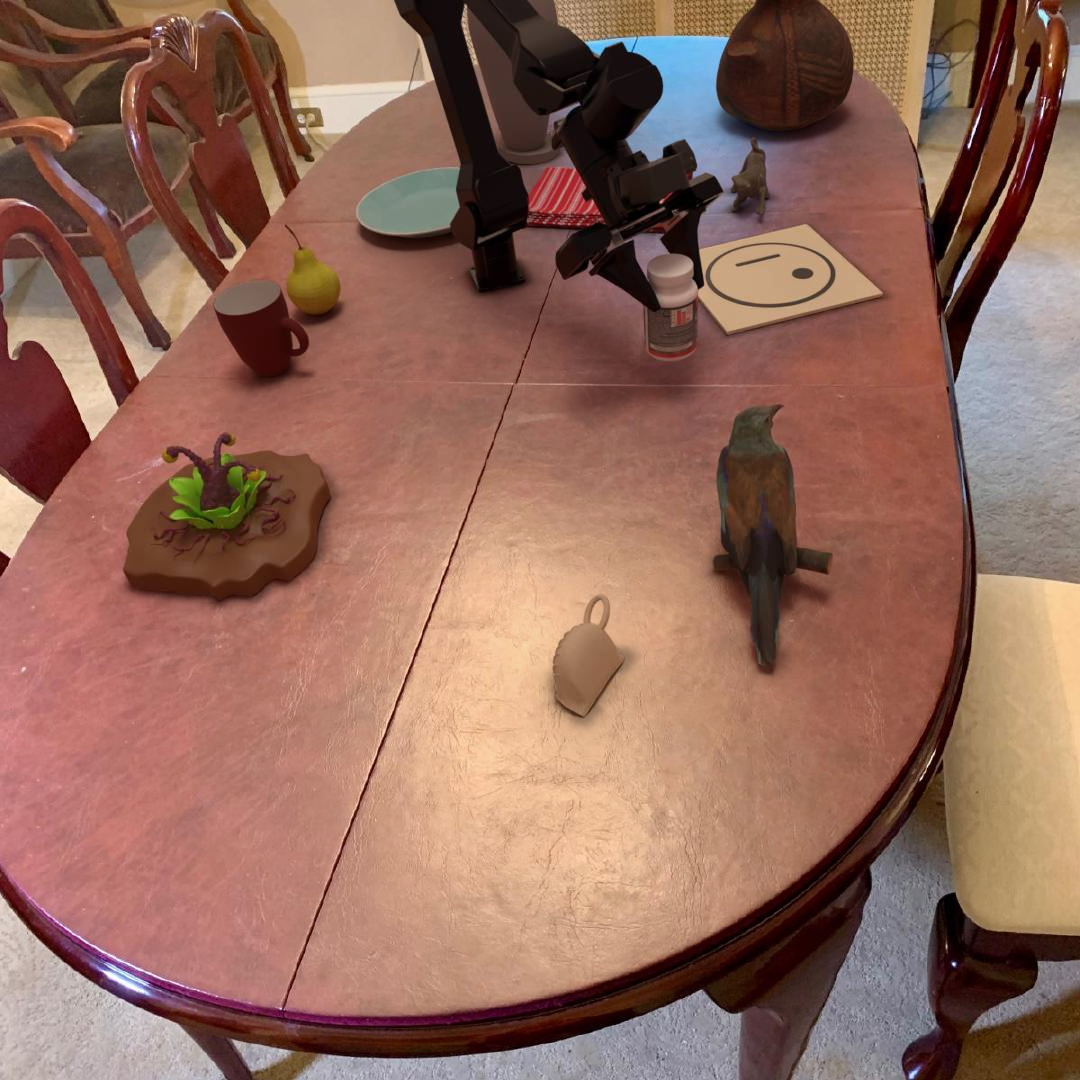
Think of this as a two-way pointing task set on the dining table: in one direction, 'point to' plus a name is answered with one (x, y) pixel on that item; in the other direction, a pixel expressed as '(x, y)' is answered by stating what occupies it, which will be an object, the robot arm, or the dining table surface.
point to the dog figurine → (751, 179)
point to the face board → (777, 279)
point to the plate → (412, 204)
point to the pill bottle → (672, 309)
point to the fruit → (311, 282)
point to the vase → (512, 96)
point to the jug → (785, 65)
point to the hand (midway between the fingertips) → (679, 299)
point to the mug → (260, 326)
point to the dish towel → (565, 201)
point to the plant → (227, 523)
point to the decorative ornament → (585, 661)
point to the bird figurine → (761, 522)
